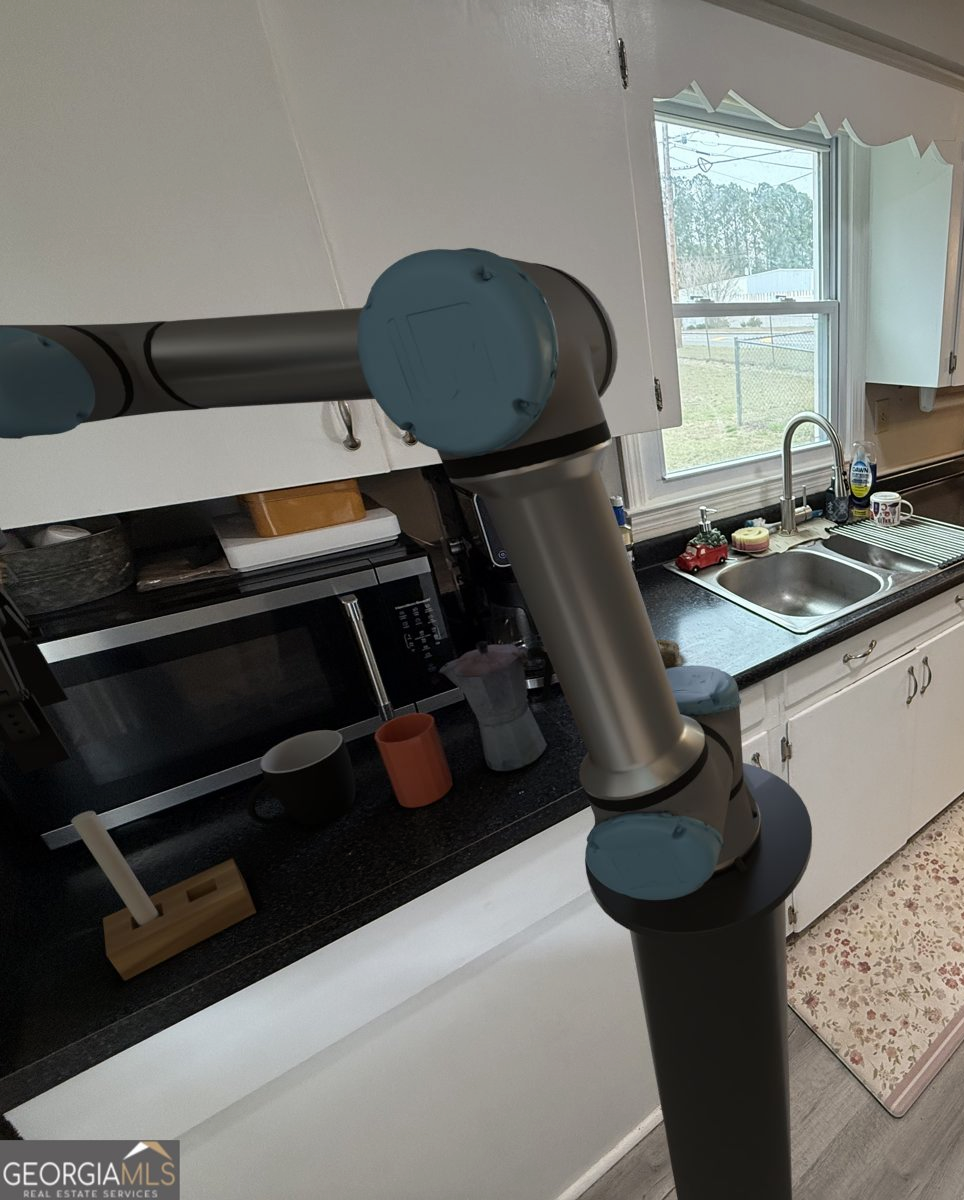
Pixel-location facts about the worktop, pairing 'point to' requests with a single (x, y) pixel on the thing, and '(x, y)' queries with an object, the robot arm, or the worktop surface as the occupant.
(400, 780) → the cup
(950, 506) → the worktop surface
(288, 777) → the mug
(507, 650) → the moka pot
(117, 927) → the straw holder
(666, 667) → the cake
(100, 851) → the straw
